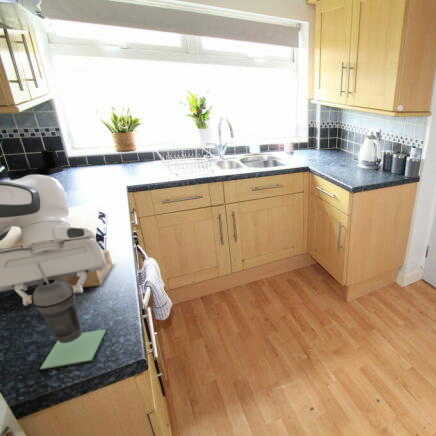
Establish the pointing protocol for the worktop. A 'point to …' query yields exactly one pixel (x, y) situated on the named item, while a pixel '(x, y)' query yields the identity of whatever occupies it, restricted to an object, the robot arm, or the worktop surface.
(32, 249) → the robot arm
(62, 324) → the beverage cup
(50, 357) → the mat
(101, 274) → the holder
